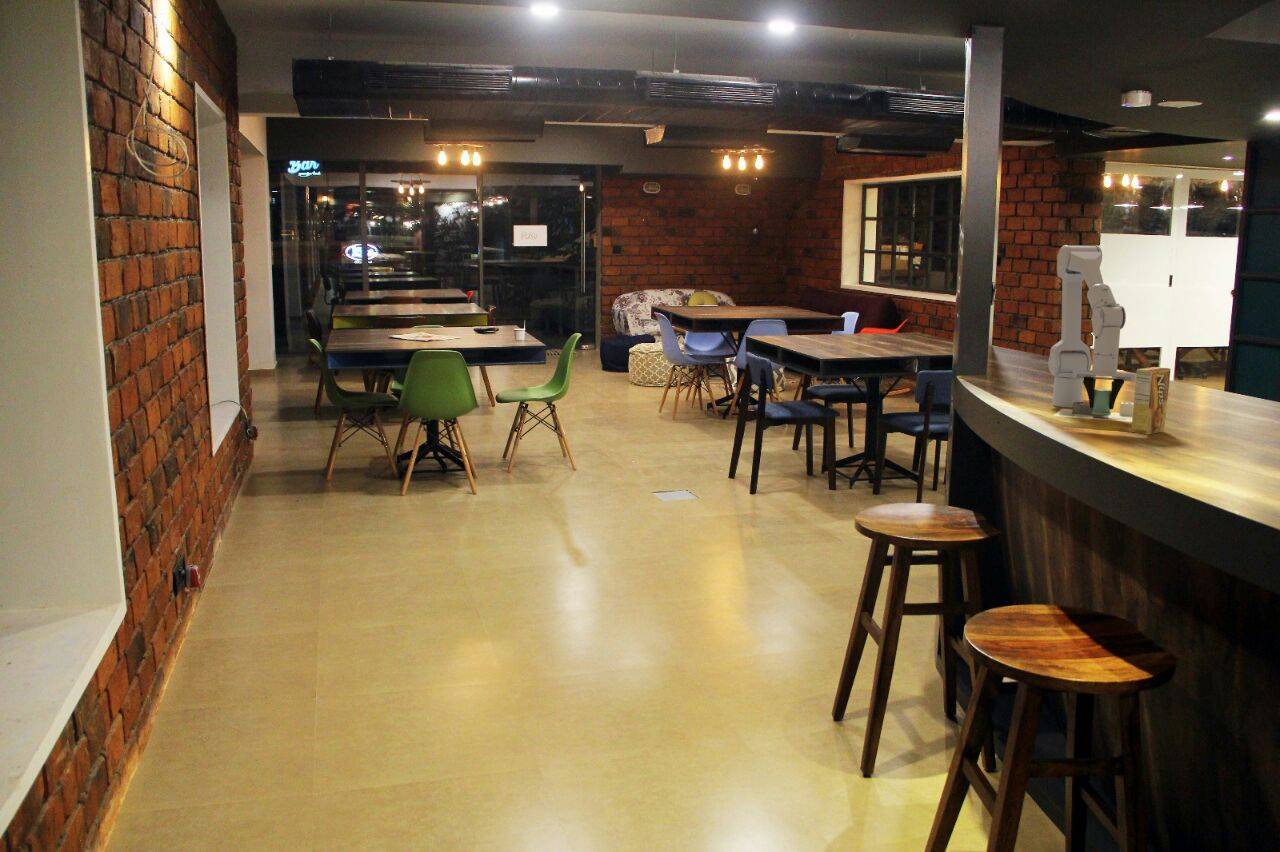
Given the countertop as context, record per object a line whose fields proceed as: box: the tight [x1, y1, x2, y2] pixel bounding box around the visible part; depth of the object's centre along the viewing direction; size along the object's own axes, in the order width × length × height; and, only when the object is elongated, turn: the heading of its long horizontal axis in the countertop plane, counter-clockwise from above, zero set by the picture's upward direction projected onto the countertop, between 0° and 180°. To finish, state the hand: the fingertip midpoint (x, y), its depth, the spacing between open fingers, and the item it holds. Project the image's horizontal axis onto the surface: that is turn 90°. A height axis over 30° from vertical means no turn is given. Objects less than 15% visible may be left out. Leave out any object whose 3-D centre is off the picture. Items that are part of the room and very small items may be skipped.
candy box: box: [1131, 366, 1171, 436], centre depth 255 cm, size 9×4×15 cm, turn 129°
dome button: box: [1081, 399, 1090, 405], centre depth 280 cm, size 6×6×2 cm
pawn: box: [1092, 388, 1111, 415], centre depth 272 cm, size 4×4×6 cm
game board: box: [1052, 401, 1134, 423], centre depth 276 cm, size 15×22×4 cm
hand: (1101, 408), depth 272 cm, fingers closed on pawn, 4 cm apart
